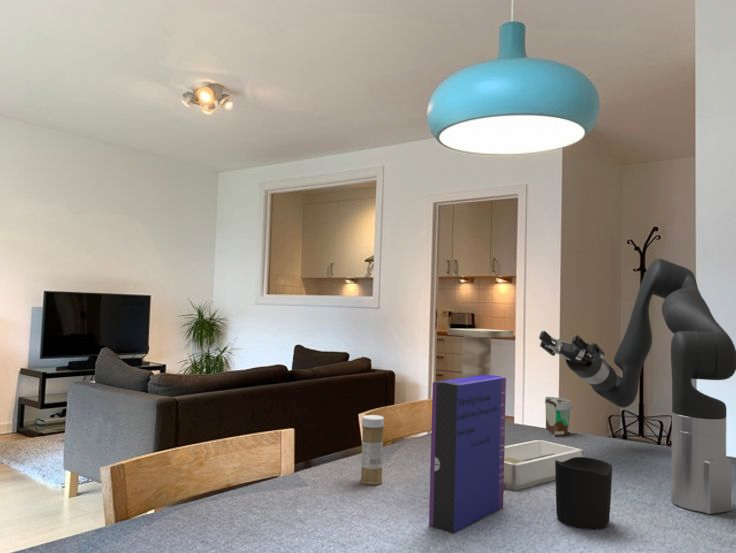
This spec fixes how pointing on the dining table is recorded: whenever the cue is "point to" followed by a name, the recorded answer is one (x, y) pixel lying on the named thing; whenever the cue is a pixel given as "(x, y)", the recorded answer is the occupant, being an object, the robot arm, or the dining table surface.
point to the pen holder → (583, 492)
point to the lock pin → (524, 460)
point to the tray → (534, 462)
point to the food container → (557, 416)
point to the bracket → (477, 350)
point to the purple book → (466, 451)
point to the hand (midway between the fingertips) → (557, 336)
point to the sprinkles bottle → (372, 449)
